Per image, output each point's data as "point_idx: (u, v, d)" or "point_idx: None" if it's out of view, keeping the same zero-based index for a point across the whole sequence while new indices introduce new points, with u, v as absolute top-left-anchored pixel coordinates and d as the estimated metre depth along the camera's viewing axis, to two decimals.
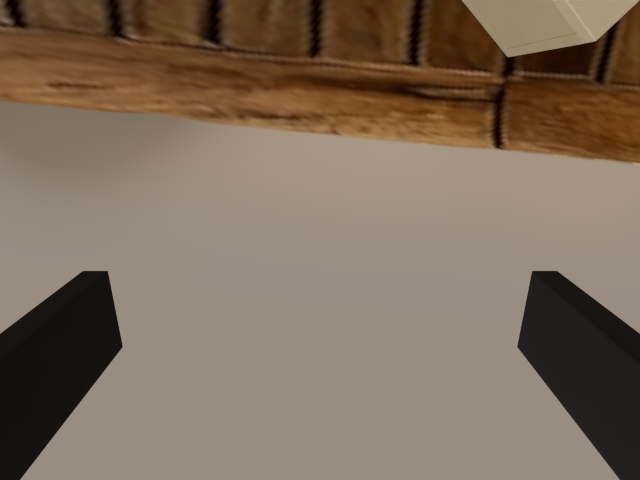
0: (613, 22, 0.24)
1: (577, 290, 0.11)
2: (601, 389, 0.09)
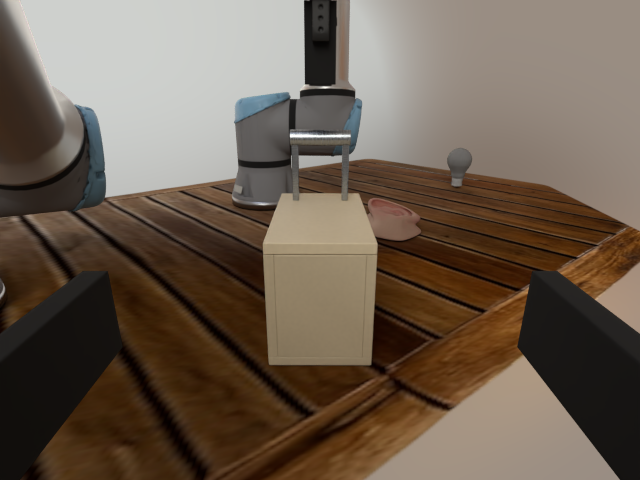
0: (374, 238, 0.35)
1: (577, 290, 0.11)
2: (601, 390, 0.09)
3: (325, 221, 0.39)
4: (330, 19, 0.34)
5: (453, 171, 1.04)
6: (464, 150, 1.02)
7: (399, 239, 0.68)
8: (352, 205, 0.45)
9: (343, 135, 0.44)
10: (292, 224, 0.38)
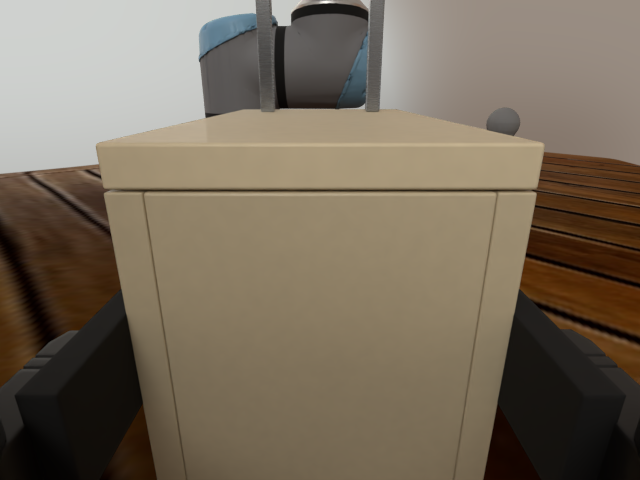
0: (513, 136, 0.10)
1: None
2: None
3: (335, 122, 0.14)
4: None
5: None
6: (510, 110, 0.77)
7: None
8: None
9: None
10: (241, 125, 0.13)
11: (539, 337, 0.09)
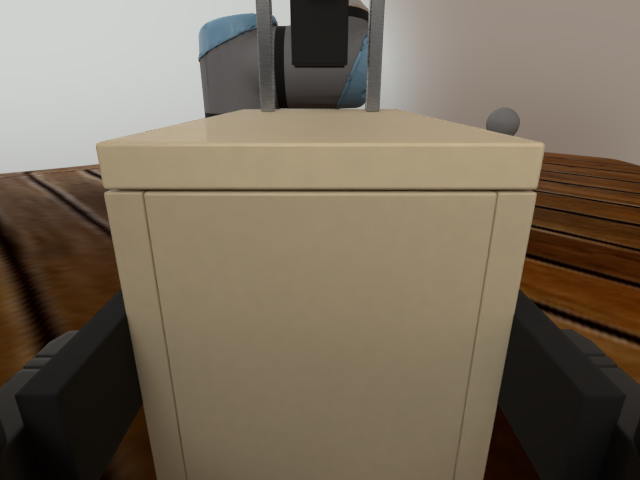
0: (513, 136, 0.10)
1: None
2: None
3: (335, 122, 0.14)
4: None
5: None
6: (510, 110, 0.77)
7: None
8: (393, 113, 0.20)
9: None
10: (241, 124, 0.13)
11: (539, 337, 0.09)
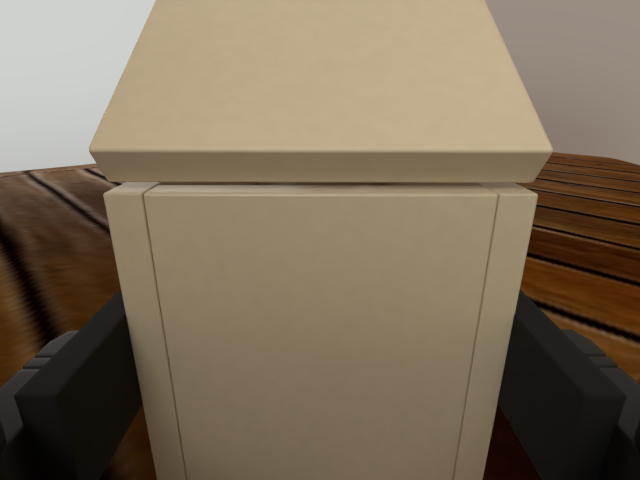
0: (530, 109, 0.09)
1: None
2: None
3: (339, 5, 0.11)
4: None
5: None
6: None
7: None
8: None
9: None
10: (225, 21, 0.11)
11: (539, 337, 0.09)
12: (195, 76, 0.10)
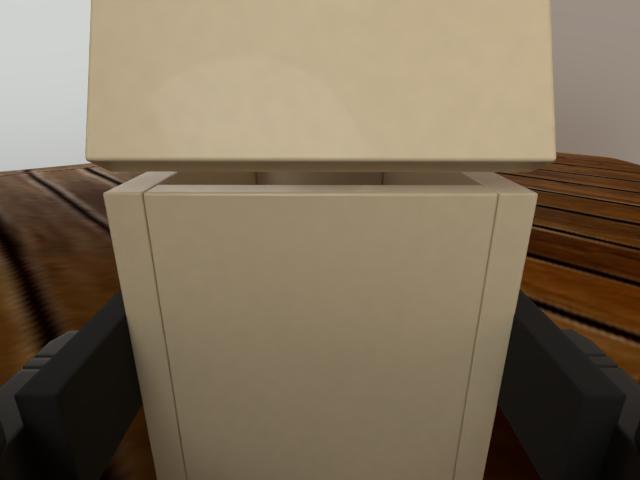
0: (549, 98, 0.08)
1: None
2: None
3: None
4: None
5: None
6: None
7: None
8: None
9: None
10: None
11: (539, 337, 0.09)
12: (175, 42, 0.08)
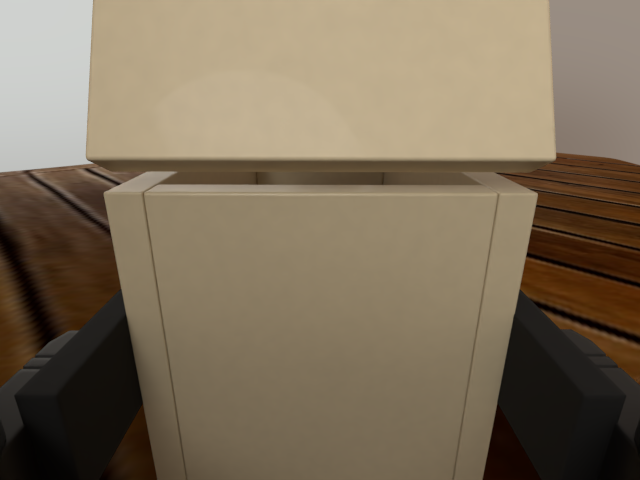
0: (548, 98, 0.08)
1: None
2: (506, 358, 0.10)
3: None
4: None
5: None
6: None
7: None
8: None
9: None
10: None
11: (539, 337, 0.09)
12: (176, 42, 0.08)
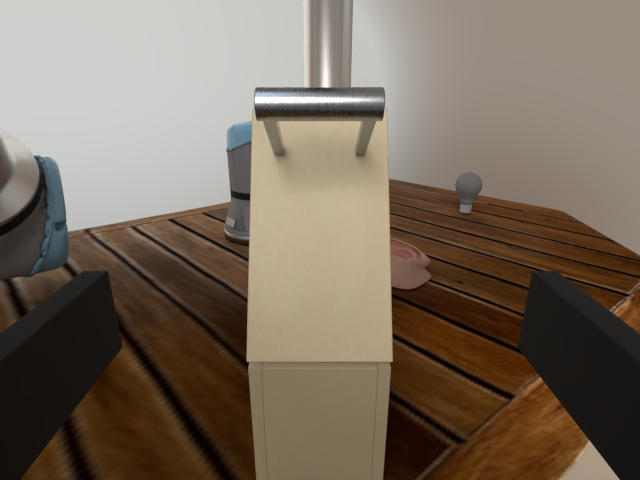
0: (390, 341, 0.26)
1: (577, 290, 0.11)
2: (601, 389, 0.09)
3: (327, 271, 0.27)
4: None
5: (462, 197, 0.97)
6: (474, 175, 0.95)
7: (407, 288, 0.61)
8: (371, 183, 0.28)
9: (368, 115, 0.21)
10: (281, 286, 0.27)
11: None
12: (274, 323, 0.27)
